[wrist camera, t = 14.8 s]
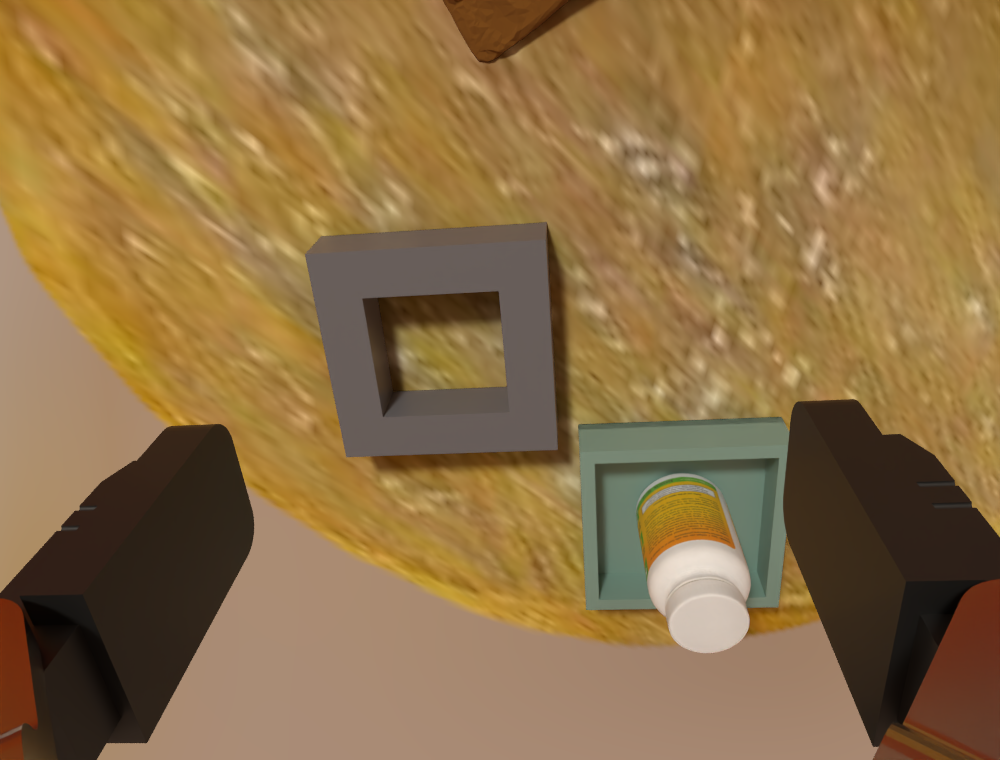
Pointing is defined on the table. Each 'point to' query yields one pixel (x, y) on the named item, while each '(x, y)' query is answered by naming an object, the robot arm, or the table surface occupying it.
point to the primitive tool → (498, 22)
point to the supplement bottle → (694, 562)
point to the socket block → (428, 271)
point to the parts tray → (670, 450)
